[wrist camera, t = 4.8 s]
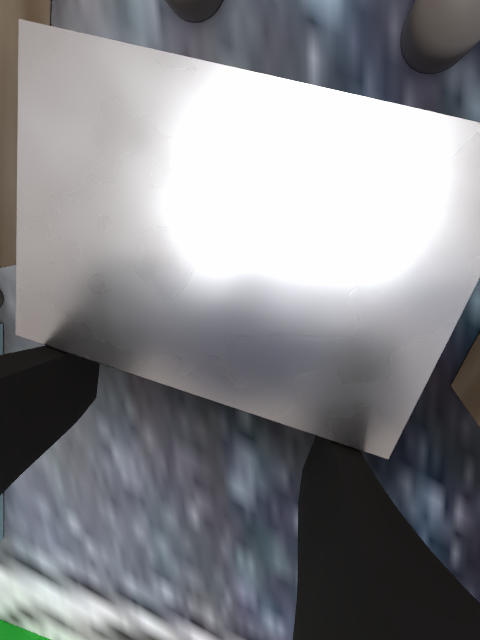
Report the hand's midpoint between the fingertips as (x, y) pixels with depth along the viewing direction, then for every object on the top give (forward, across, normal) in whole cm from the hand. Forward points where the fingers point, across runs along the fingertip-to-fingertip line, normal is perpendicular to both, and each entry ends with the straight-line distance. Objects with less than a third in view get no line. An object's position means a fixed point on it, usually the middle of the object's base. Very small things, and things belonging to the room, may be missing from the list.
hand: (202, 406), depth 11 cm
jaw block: (+2, 0, -5) cm, 5 cm away
